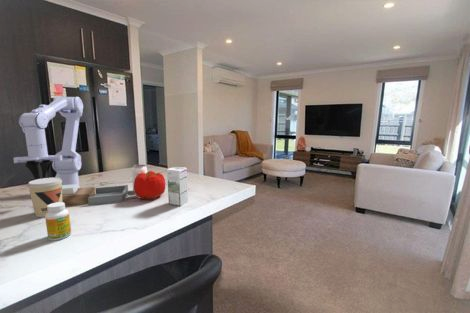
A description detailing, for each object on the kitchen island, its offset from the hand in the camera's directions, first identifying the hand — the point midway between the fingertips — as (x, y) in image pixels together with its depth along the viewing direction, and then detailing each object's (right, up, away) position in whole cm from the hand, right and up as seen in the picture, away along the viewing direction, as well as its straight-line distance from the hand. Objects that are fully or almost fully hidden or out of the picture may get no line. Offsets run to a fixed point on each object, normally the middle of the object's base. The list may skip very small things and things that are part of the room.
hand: (41, 179), depth 90 cm
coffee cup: (+8, -11, -7) cm, 16 cm away
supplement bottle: (+24, -14, -23) cm, 36 cm away
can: (+31, -7, +19) cm, 37 cm away
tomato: (+38, -9, +11) cm, 41 cm away
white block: (+8, -5, +4) cm, 10 cm away
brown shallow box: (+9, -9, +5) cm, 14 cm away
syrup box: (+52, -10, +3) cm, 53 cm away
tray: (+22, -9, +9) cm, 25 cm away
